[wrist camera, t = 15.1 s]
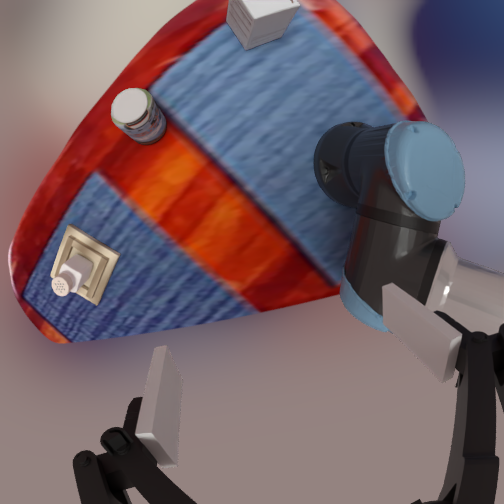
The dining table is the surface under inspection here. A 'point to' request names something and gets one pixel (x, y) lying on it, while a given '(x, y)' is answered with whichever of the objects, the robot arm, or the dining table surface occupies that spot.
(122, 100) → the beverage can
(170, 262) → the dining table surface
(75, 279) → the pepper shaker
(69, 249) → the tray
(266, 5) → the supplement box
